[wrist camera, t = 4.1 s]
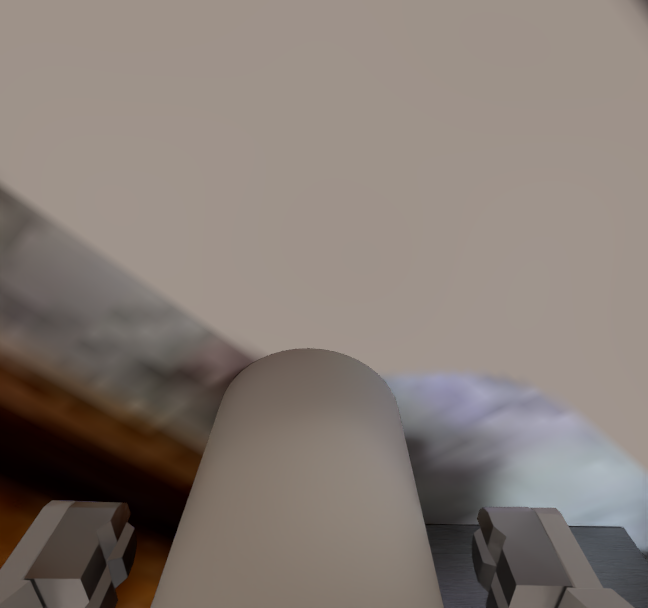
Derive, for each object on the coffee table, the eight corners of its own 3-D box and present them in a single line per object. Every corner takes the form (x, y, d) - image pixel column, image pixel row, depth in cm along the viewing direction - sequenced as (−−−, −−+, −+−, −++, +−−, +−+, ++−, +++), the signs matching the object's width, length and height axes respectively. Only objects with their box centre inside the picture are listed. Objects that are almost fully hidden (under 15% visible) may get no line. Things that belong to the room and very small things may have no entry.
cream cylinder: (408, 349, 11) (556, 815, 4) (391, 490, 13) (467, 949, 6) (209, 347, 11) (-4, 809, 4) (227, 487, 13) (111, 946, 6)
